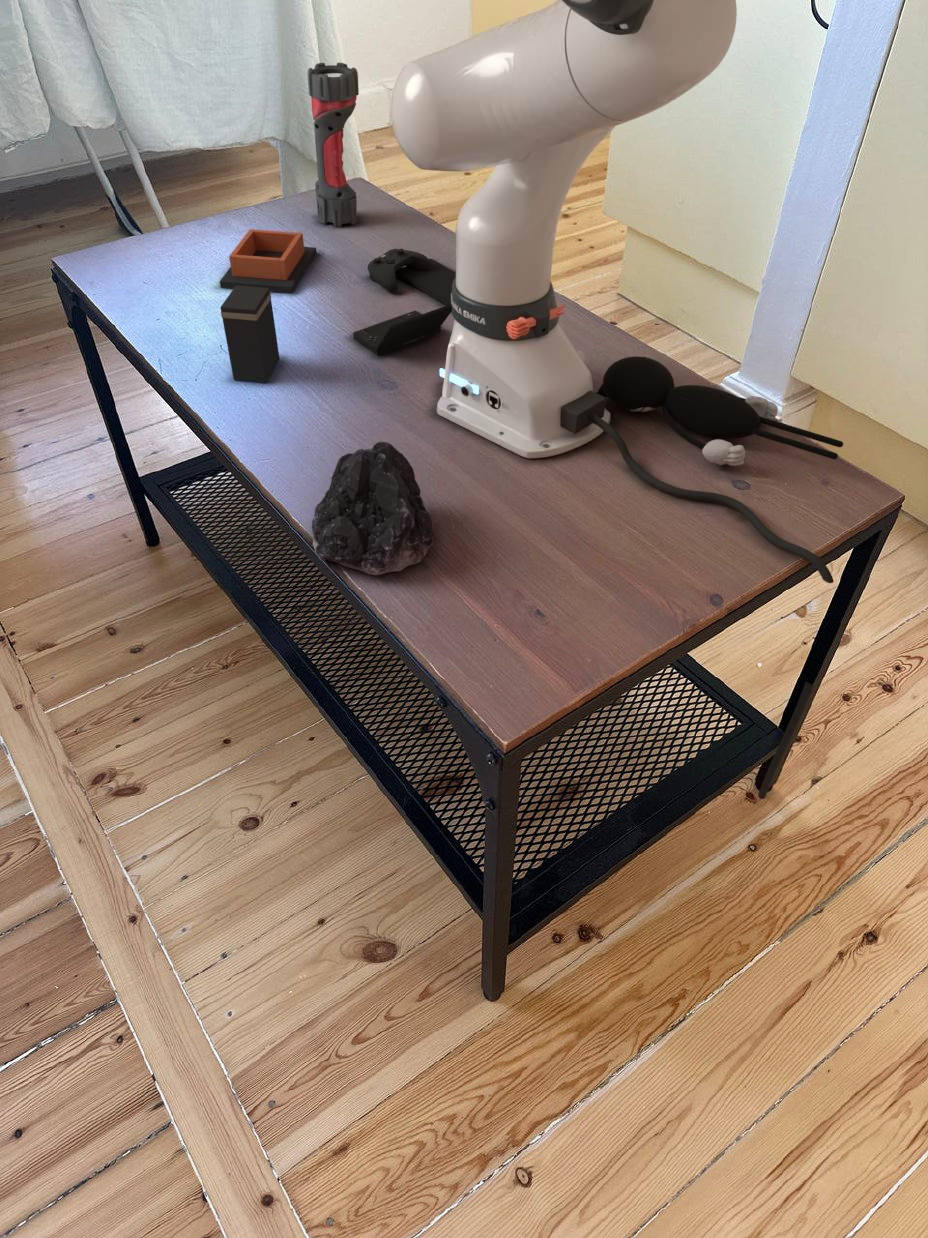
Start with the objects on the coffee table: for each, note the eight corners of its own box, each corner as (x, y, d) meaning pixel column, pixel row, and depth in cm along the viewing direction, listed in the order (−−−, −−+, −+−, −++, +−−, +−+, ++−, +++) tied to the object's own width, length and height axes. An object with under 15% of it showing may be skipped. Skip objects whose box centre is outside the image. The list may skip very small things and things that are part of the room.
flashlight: (370, 228, 153) (361, 73, 137) (323, 232, 152) (308, 76, 136) (362, 210, 159) (352, 58, 142) (317, 214, 157) (302, 61, 141)
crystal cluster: (367, 606, 91) (374, 528, 84) (278, 536, 97) (277, 457, 90) (458, 549, 99) (471, 474, 92) (371, 487, 104) (377, 412, 97)
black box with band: (280, 359, 123) (270, 287, 116) (266, 383, 119) (255, 310, 112) (247, 356, 123) (235, 284, 116) (233, 380, 119) (219, 307, 112)
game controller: (395, 290, 135) (370, 255, 134) (378, 307, 140) (354, 273, 138) (436, 264, 140) (412, 230, 139) (418, 281, 145) (395, 248, 144)
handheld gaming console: (403, 300, 132) (428, 261, 123) (436, 340, 133) (463, 305, 124) (345, 339, 127) (366, 302, 118) (379, 381, 128) (403, 347, 119)
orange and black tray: (316, 253, 146) (314, 228, 144) (292, 293, 137) (288, 267, 134) (249, 248, 147) (245, 223, 145) (220, 287, 138) (215, 261, 135)
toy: (854, 437, 110) (625, 368, 122) (866, 392, 103) (622, 323, 115) (810, 524, 106) (578, 444, 118) (818, 483, 99) (571, 402, 111)
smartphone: (392, 274, 141) (455, 310, 133) (391, 269, 140) (455, 304, 132) (429, 261, 144) (493, 296, 136) (429, 256, 144) (494, 290, 136)
